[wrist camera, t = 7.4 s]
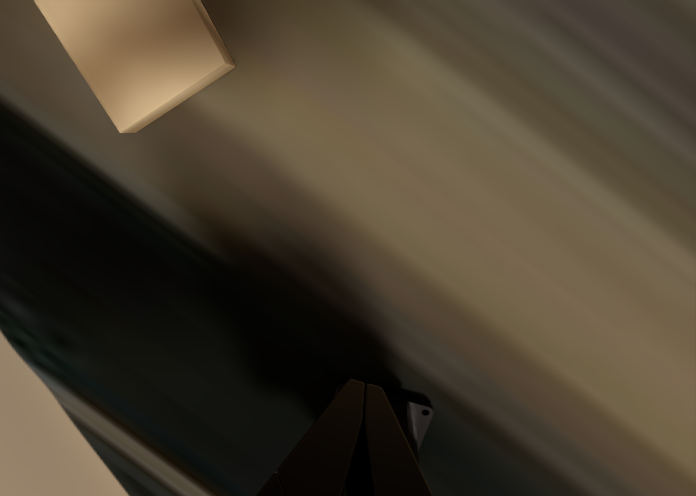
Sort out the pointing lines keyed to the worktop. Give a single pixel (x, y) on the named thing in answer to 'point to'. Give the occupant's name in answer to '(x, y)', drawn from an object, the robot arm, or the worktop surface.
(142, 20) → the track
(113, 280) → the worktop surface
